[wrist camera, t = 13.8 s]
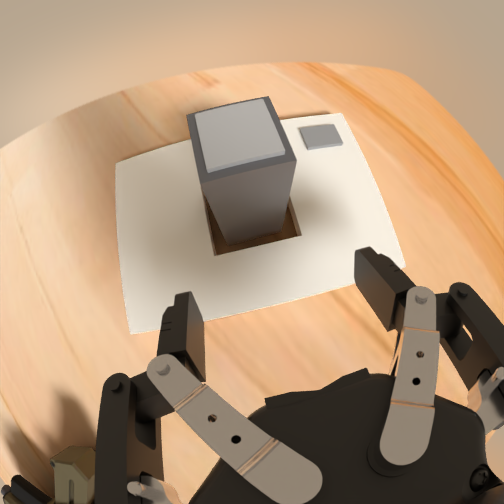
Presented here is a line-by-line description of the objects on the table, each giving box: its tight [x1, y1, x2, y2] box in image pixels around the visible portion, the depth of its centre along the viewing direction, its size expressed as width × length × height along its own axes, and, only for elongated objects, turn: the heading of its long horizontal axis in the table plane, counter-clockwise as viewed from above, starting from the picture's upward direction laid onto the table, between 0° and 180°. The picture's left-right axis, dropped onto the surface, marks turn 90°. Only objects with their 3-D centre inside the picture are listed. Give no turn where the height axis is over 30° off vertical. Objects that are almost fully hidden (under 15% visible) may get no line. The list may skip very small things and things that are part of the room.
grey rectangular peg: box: [187, 96, 297, 246], centre depth 15 cm, size 4×4×10 cm
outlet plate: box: [115, 113, 406, 334], centre depth 19 cm, size 20×14×2 cm
